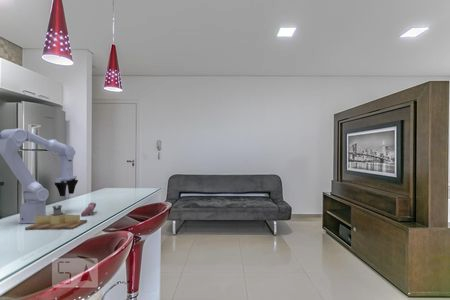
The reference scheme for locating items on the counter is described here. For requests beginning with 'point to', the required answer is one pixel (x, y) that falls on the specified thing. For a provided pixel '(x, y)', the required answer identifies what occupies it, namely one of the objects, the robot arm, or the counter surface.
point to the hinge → (57, 219)
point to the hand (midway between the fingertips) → (66, 194)
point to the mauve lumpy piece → (89, 209)
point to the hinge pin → (57, 210)
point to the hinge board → (48, 227)
